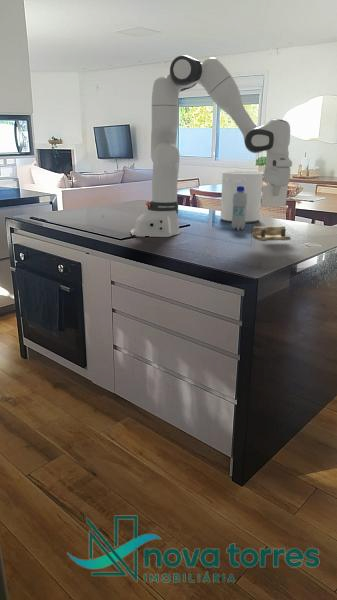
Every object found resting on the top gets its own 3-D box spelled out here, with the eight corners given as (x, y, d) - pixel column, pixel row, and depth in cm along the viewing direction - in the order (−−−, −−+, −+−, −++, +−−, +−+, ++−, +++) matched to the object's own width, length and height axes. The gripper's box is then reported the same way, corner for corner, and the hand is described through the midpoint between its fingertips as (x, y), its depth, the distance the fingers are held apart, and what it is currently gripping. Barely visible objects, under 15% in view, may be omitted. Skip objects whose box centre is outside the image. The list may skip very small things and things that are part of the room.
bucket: (232, 215, 251) (235, 169, 243) (268, 219, 239) (272, 171, 231) (209, 221, 231) (211, 172, 223) (247, 226, 220) (250, 174, 211)
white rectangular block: (263, 206, 189) (264, 185, 186) (261, 206, 191) (262, 184, 188) (285, 206, 190) (287, 184, 187) (283, 205, 193) (285, 184, 190)
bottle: (245, 230, 208) (247, 186, 201) (230, 230, 209) (232, 186, 203) (245, 228, 214) (248, 185, 207) (231, 227, 216) (233, 185, 209)
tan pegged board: (258, 239, 190) (259, 230, 188) (251, 235, 199) (252, 226, 198) (290, 239, 192) (291, 229, 190) (281, 234, 201) (282, 225, 200)
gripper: (261, 160, 194) (258, 192, 199) (278, 162, 175) (275, 198, 180) (275, 160, 195) (272, 192, 199) (294, 162, 176) (290, 198, 180)
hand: (274, 195), depth 189 cm, fingers closed on white rectangular block, 2 cm apart
